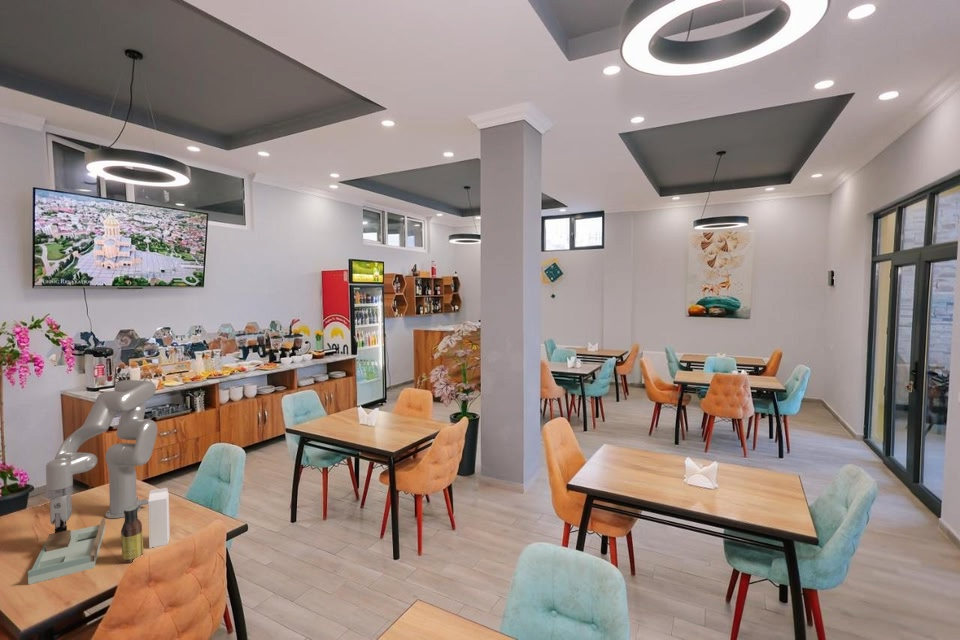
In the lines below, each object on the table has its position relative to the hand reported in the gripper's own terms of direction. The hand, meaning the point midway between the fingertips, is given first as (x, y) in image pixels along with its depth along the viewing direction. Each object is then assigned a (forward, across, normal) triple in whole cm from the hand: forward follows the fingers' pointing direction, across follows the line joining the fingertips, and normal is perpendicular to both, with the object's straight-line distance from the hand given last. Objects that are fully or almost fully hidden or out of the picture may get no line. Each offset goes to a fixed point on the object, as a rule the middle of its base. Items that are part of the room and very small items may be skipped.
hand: (61, 537), depth 173 cm
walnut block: (+1, -5, 0) cm, 5 cm away
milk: (+4, -18, -32) cm, 37 cm away
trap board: (+4, -10, -4) cm, 11 cm away
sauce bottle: (+4, -26, -24) cm, 36 cm away
